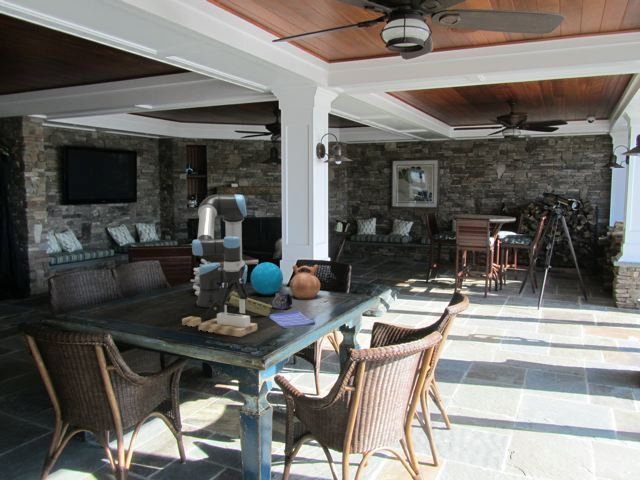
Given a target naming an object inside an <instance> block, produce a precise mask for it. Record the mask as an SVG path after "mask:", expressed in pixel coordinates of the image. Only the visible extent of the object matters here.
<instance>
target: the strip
mask: <svg viewBox="0 0 640 480" xmlns="http://www.w3.org/2000/svg"><path fill="white" fill-rule="evenodd" d="M216 318H217V324H223V325H230V326H237V327H243V328H246V327H248V326H250V323H251V316H250V315H246V314H245V315H243V314H236V313H227V319H226V320H224V319H221V312H219V313H218V314H217V316H216Z"/></svg>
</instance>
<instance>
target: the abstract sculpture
mask: <svg viewBox="0 0 640 480" xmlns="http://www.w3.org/2000/svg"><path fill="white" fill-rule="evenodd" d="M200 262H201V263H200V264H199V267H194V268H193V271H194V272H193V275H195V276H194V279H190V282H191V283H193V285H192V288H193V289H194V290H195V292H194V295H196V296H197V297H198V296H199V292H200V283H199V268H200V267H201V266H202V265H205V264H210V263H211V261H207V260H205V259H204V258H201V259H200ZM234 292H236V290H234ZM236 293H237V292H236Z"/></svg>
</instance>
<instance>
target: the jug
mask: <svg viewBox="0 0 640 480" xmlns="http://www.w3.org/2000/svg"><path fill="white" fill-rule="evenodd" d="M317 267H318V265H317V264H315V265H313V266H308V265H302V266H299V267H298V266H297V264H295V265H293V266H292V270H293V271H294V272H293V273H294V275H293V277H292V279H291V280H290V282H289V290H290V291H291V293H292V295H293V296H294V298H296V299H298V300H311V299H314V298H316V297H317V295H318V293H319V292H320V289H321V282H320V280H319V278H318V277H317V276H316V275H315V272H316V271H317ZM303 269H306V270H307V271H301V270H303Z"/></svg>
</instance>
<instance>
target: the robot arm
mask: <svg viewBox="0 0 640 480" xmlns="http://www.w3.org/2000/svg"><path fill="white" fill-rule="evenodd" d="M246 204H247V203H246V200H245V196H244V195H243V194H236V193H234V194H232V193H231V194H217V193H216V194H212V195H209V196H207V197H206V198H205V199H204V200H202V202H201V203H200V204H199V206H198V210H197V215H198V218H199V220H198V228H197V229H198V231H197V239H193V240H192V242H191V243H192V244H191V248H192V249H191V251H192V255H194V256H201V257H202V256H223V264H222V265H221V263H220V262H210V264H205V265H202V266H199V267H200V268H199V283H200V284H199V287H200V292H199V296H197V300H196V306H197V307H200V308H210V306H211V305H212V303H213V302H215V301H216V300H217V304H218V305H220V311H219V313H221V319H224V320H226V319H227V305H225V304H226V302H227V299H228V297H229V295H230V293H231V292H232V291H234V290H236V293H237V294H238V295H239V297H240V298H241V299H239V313H240V314H246V310H245V299H247V298H249V294H248V290H247V287H246V285H245V284H246V282H247V277H248V265H247V264H246V263H245V261H244V260H243V244H242V243H243V242H242V241H243V240H242V239H243V238H242V233H243V231H242V229H243V228H242V222H243V221H244V220H245V217H247V216H248V214H247V205H246ZM216 217H221V218H222V221H223V222H225V236H224V237H223V238H219V239H218V238H215V237H214V235H215V234H214V233H215V218H216Z"/></svg>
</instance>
